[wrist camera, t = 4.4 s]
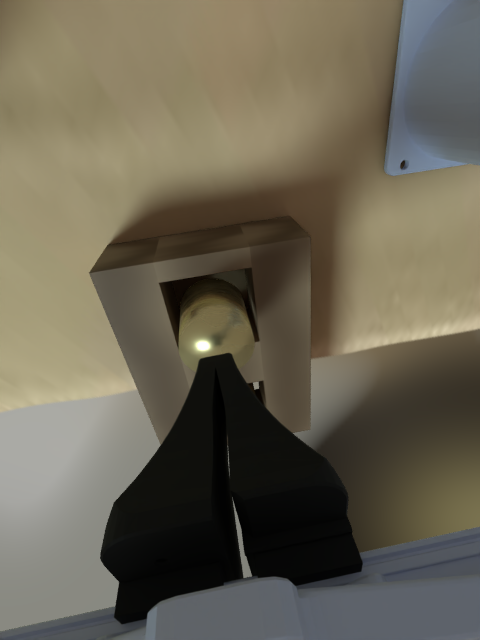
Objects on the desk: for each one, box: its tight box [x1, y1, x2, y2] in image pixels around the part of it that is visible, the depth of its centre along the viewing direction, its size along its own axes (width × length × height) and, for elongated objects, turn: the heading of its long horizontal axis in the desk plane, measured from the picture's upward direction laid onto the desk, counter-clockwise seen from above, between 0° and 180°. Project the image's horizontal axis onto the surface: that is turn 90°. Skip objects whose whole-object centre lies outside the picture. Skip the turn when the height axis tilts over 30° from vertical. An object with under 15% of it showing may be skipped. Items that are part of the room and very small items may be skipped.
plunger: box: [178, 278, 255, 372], centre depth 17 cm, size 4×4×4 cm
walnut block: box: [89, 216, 311, 444], centre depth 21 cm, size 11×15×4 cm
